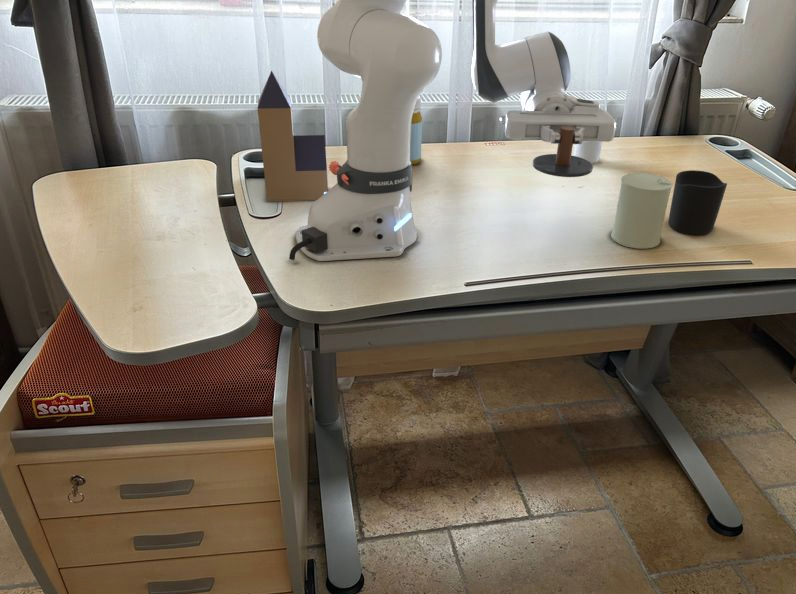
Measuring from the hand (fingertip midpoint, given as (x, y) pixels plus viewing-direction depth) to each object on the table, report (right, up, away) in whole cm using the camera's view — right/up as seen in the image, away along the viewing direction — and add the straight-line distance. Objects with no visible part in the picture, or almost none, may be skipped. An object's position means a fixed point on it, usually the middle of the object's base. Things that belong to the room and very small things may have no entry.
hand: (567, 139), depth 126 cm
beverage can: (+14, +9, +49) cm, 52 cm away
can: (+15, -16, +12) cm, 25 cm away
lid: (0, -4, +4) cm, 5 cm away
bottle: (-30, +8, +45) cm, 55 cm away
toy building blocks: (-53, -1, +30) cm, 61 cm away
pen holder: (+28, -13, +17) cm, 35 cm away
